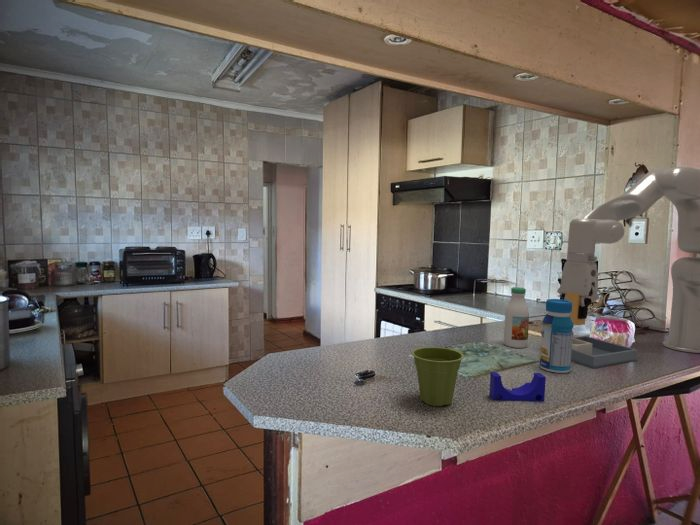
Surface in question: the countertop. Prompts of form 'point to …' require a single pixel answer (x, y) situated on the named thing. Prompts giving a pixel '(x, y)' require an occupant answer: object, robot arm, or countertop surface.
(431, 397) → the plant pot
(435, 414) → the countertop surface
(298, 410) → the countertop surface
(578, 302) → the orange square bottle
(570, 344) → the beverage bottle
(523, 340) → the milk bottle
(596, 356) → the walled box
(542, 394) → the blue u-shaped cradle
